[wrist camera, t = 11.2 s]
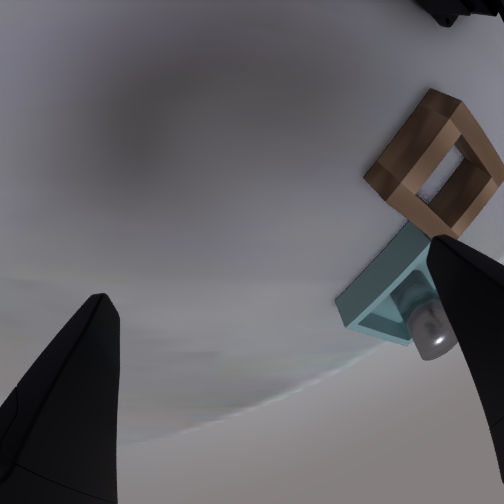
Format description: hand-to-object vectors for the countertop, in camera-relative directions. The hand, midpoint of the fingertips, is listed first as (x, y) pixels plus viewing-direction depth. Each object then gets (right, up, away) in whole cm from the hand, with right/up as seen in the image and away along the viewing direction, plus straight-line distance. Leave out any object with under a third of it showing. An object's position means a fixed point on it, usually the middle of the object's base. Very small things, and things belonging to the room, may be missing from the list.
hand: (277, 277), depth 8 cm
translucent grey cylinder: (+14, -3, +20) cm, 24 cm away
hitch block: (+13, +7, +13) cm, 20 cm away
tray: (+14, -2, +20) cm, 25 cm away
